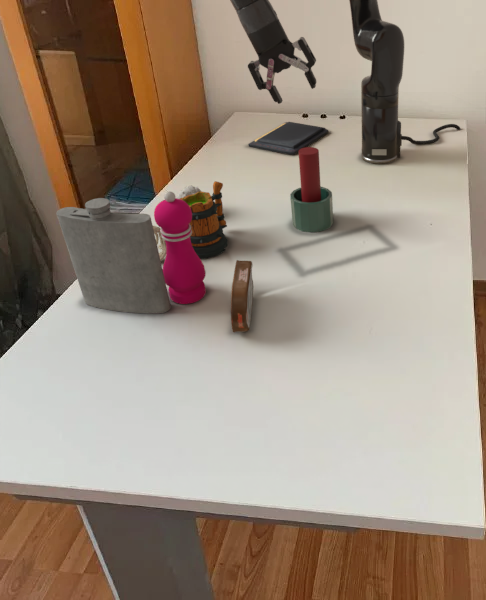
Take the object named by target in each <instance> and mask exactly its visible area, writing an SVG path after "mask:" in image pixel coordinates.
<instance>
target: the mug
mask: <svg viewBox="0 0 486 600" xmlns="http://www.w3.org/2000/svg"><path fill="white" fill-rule="evenodd" d="M223 187H224V184H223V182H220V181H215V180H214V182H213V184H212V195H211V193H210V192H206V191H202V190H201V191H199V192H197V193H195V194H191V195H188V196H185V197H183V198H180V199H181V200H183V201H185V202H186V203H187V204H188V205H189V207H190V208H191V211H192V220H191V222H190V223H189V224H190V225H191V230H192V234H191V236H190V240H191V244H192V247H193V249H194V251H195V252H196V254H197V255H198V257H199V258H200V259H201V260H206V259H212V258H214V257H217V256H219V255H221V254H223V253H225V251H226V248H227V247H228V243H229V240H228V238H227V237H226V235H225V233H224V230H223V229H225V228H228V225H227V221H226V219H225V218H226V217H225V214H224V213H223V210H224V208H223V200H222V198H223V193H222V192H221V191H222V189H223Z"/></svg>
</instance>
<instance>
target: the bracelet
mask: <svg viewBox="0 0 486 600" xmlns="http://www.w3.org/2000/svg"><path fill="white" fill-rule="evenodd" d="M152 226H153V230H154V234H155V239H156V243H157V248H158V250H161V251H159V256H160V261H161V262H162V261H163V260H164V259H165V258H166V251H167V250H166V242H165V240H164V239H163V238H162V237H161V232H160V229H161V227H159V226H156V225H153V224H152ZM159 243H160V244H159Z"/></svg>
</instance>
